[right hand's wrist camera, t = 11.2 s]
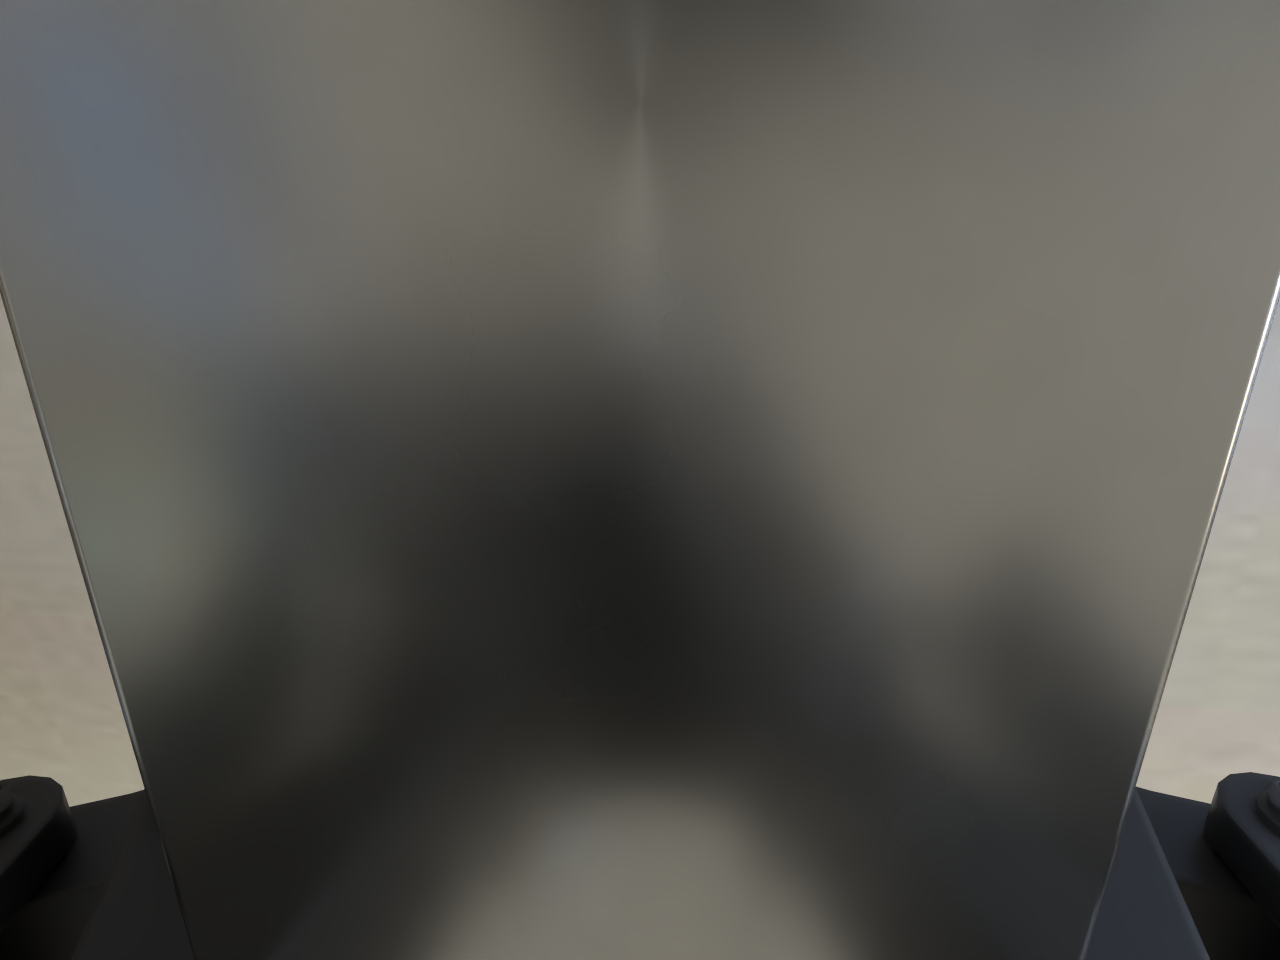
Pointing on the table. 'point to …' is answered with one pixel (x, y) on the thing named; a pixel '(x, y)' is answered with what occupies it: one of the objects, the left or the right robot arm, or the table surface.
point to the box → (640, 449)
